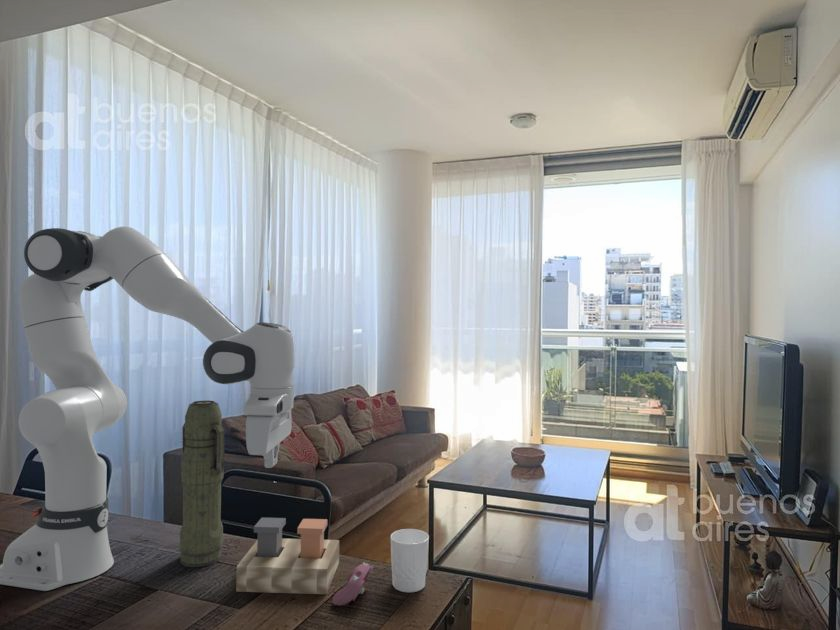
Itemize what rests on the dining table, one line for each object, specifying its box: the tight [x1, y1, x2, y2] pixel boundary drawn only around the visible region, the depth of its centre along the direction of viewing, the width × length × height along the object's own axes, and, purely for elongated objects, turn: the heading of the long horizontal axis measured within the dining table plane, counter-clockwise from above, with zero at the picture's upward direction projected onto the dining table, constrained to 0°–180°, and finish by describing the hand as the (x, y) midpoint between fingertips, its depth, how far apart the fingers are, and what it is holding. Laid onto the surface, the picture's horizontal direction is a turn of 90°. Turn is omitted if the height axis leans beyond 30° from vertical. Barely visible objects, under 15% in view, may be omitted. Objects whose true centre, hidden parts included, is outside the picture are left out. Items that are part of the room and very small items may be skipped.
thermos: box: [179, 400, 226, 568], centre depth 125 cm, size 9×12×35 cm
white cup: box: [390, 528, 430, 593], centre depth 114 cm, size 8×8×10 cm
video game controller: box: [332, 561, 374, 607], centre depth 110 cm, size 10×5×7 cm, turn 169°
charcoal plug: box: [253, 517, 287, 557], centre depth 117 cm, size 5×5×7 cm
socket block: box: [235, 537, 340, 595], centre depth 117 cm, size 18×14×5 cm
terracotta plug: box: [296, 518, 328, 559], centre depth 117 cm, size 5×5×7 cm
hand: (270, 465), depth 117 cm, fingers closed
